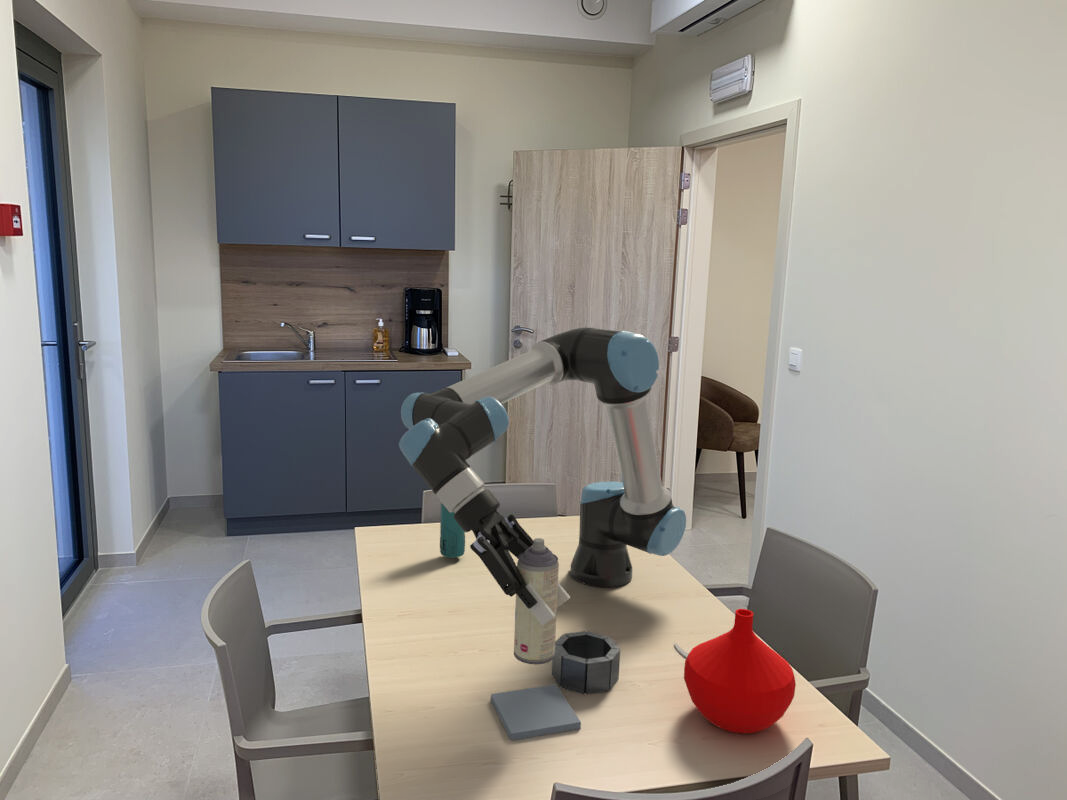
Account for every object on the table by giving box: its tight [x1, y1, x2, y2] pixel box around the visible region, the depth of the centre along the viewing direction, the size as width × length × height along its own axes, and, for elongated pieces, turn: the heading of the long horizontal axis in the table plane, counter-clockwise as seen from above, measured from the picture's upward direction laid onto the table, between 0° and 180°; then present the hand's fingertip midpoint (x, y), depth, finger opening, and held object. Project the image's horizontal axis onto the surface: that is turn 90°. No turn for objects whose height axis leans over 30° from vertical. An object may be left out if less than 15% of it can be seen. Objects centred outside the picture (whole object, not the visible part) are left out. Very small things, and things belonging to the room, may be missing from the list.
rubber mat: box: [490, 683, 582, 741], centre depth 134 cm, size 12×12×1 cm
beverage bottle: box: [439, 502, 466, 558], centre depth 199 cm, size 6×7×20 cm
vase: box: [683, 608, 797, 735], centre depth 134 cm, size 18×18×19 cm
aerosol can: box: [513, 537, 560, 666], centre depth 130 cm, size 7×7×20 cm
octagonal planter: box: [551, 630, 621, 695], centre depth 146 cm, size 12×12×6 cm
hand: (556, 610), depth 129 cm, fingers closed on aerosol can, 7 cm apart
